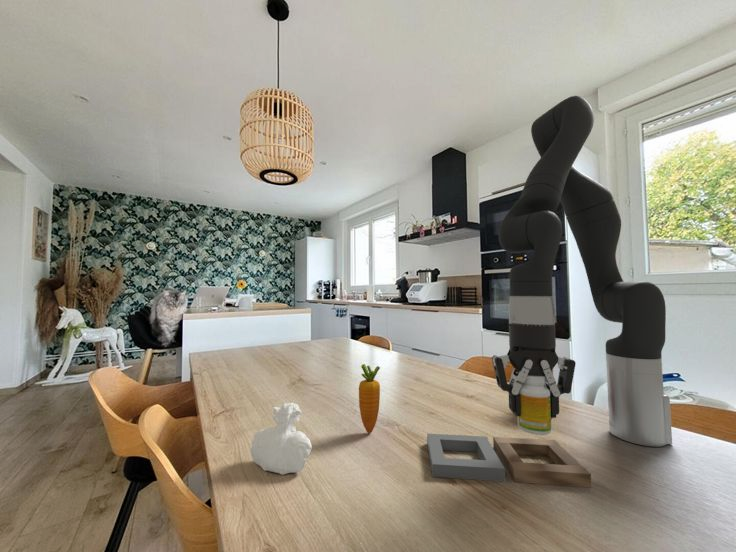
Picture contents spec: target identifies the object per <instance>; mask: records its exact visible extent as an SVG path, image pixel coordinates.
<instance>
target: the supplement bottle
mask: <svg viewBox="0 0 736 552" xmlns="http://www.w3.org/2000/svg"><path fill="white" fill-rule="evenodd" d="M544 384H545V376H528V375H527V377H526V380H525V382H524V384H522V386H521V388H520V391H519V393H518V394H519V395H520V416H516V419H517V420H516V421H517V428H519V429H520V430H521V431H523V432H526V433H528V434H531V435H539V436H544V435H545V436H546V435H549V434H551V433H552V418H551V404H550V391H549V389H548V388H546V387H545V386H544Z"/></svg>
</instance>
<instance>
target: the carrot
mask: <svg viewBox="0 0 736 552" xmlns="http://www.w3.org/2000/svg"><path fill="white" fill-rule="evenodd" d="M361 369H362V371H363V373H361V376H362V377H363V378H364V379H363V380H361V381H360V382H359V384H358V385H359V386H358V401H359V402H358V404H359V405H358V407H359V411H360V419H361V421H362V424H363V428H364V429H365V431H366V433H367V434H369V435H370V434H371V433H373V430H374V429H375V427H376V423H377V421H378V415H379V409H380V396H381V384H380V382H379V381H378V380H376V379H375V377H376V376H377V373H378V372H379V371H380V369H381V367H380V366H376V367H375V368H374V370H372V368H371V366H370V365H367V366H366V364H365V363H362V365H361Z"/></svg>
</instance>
